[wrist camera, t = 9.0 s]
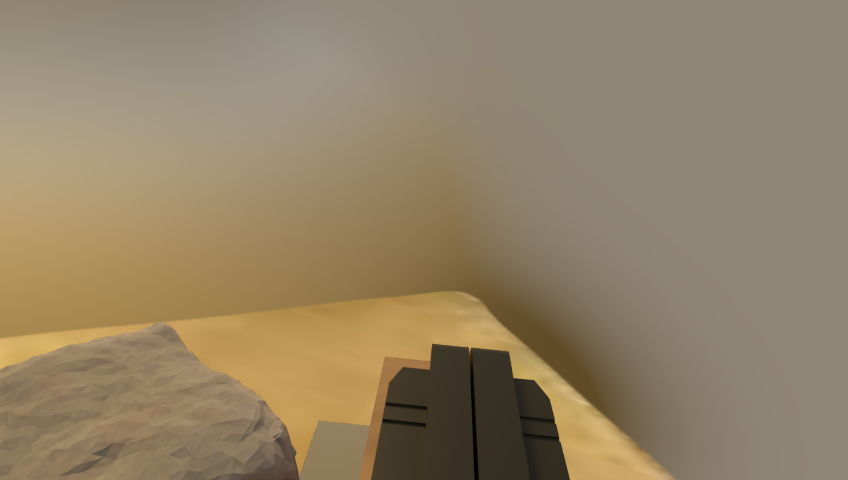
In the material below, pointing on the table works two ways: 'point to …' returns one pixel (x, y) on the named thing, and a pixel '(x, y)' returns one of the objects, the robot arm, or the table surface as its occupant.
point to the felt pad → (335, 452)
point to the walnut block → (388, 373)
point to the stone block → (135, 416)
